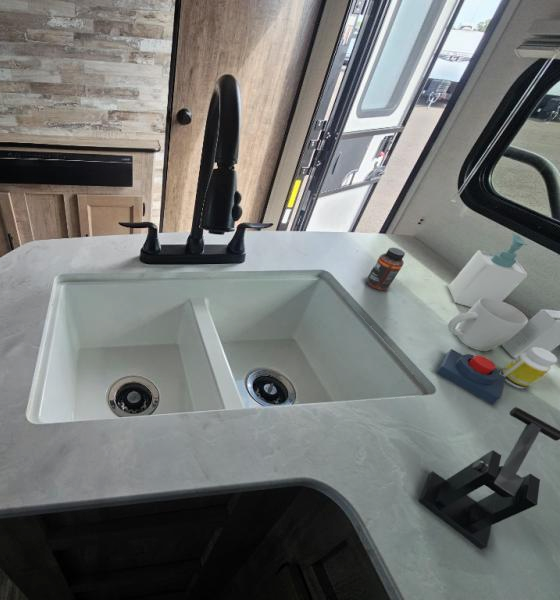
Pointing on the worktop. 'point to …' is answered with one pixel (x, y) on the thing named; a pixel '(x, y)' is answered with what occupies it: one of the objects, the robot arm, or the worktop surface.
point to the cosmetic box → (536, 334)
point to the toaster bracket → (468, 513)
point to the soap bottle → (489, 275)
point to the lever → (520, 453)
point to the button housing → (471, 376)
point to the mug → (488, 324)
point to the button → (482, 364)
